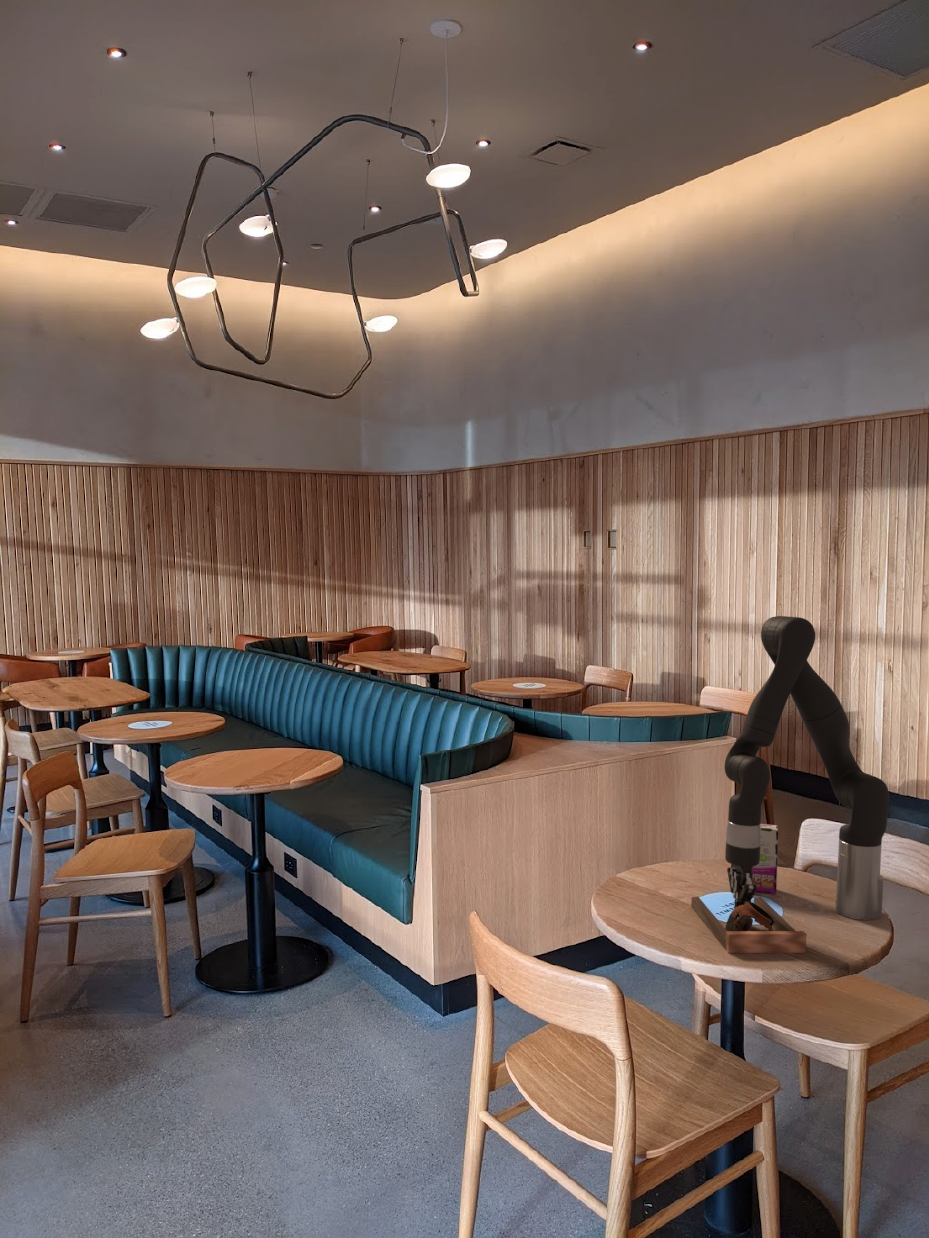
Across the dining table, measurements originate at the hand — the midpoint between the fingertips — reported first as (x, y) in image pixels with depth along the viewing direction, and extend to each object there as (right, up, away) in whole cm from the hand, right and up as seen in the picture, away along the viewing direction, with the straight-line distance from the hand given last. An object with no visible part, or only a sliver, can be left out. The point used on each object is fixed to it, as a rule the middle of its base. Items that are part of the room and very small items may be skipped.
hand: (739, 916), depth 214 cm
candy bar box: (+10, -1, +23) cm, 25 cm away
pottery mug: (-1, -2, -7) cm, 8 cm away
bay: (0, -2, -2) cm, 3 cm away
